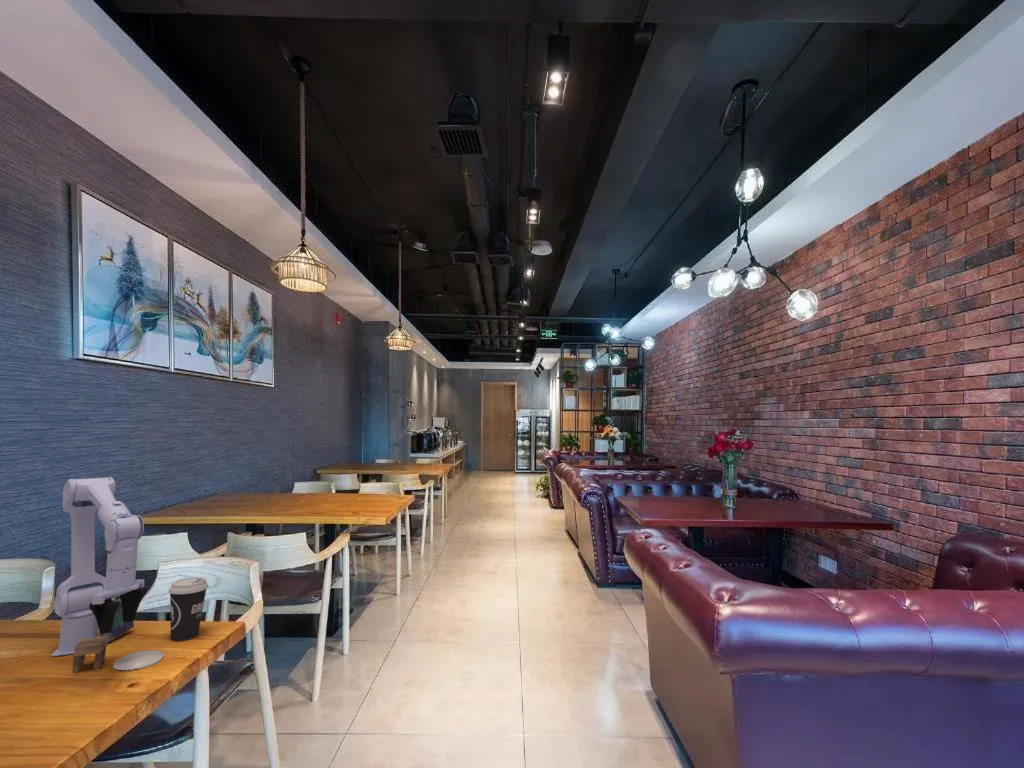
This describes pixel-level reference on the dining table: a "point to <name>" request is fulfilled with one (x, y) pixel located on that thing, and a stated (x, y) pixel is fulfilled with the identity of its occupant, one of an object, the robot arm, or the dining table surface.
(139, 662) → the plate
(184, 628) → the coffee cup
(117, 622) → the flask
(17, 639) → the dining table surface
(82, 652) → the stool
